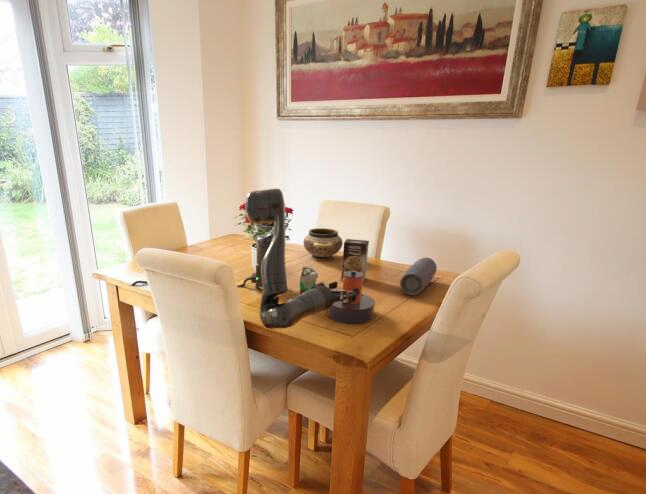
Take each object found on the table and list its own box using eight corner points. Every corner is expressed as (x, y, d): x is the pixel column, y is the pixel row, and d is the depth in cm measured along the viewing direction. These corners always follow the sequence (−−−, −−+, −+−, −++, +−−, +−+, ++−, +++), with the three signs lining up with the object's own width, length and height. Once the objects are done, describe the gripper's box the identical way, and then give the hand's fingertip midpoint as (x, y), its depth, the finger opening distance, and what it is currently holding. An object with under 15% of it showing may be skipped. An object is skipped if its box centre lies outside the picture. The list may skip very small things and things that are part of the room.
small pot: (341, 304, 152) (343, 274, 148) (340, 296, 158) (342, 267, 154) (362, 304, 151) (364, 274, 147) (360, 297, 157) (362, 268, 153)
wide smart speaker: (328, 322, 150) (328, 308, 148) (326, 304, 164) (327, 291, 162) (376, 324, 148) (377, 310, 146) (370, 306, 162) (372, 293, 160)
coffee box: (340, 280, 187) (343, 242, 181) (343, 275, 193) (346, 238, 187) (363, 283, 184) (366, 244, 178) (365, 278, 190) (369, 239, 183)
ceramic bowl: (334, 272, 206) (344, 240, 200) (296, 260, 208) (305, 229, 202) (337, 256, 228) (346, 228, 221) (302, 246, 230) (311, 218, 224)
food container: (316, 303, 166) (317, 277, 162) (299, 302, 167) (300, 276, 163) (317, 291, 177) (319, 266, 173) (301, 290, 178) (302, 266, 174)
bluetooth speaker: (423, 300, 166) (427, 274, 162) (397, 295, 171) (400, 270, 167) (436, 281, 183) (440, 257, 180) (412, 278, 188) (415, 254, 184)
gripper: (334, 295, 134) (366, 281, 144) (297, 283, 144) (330, 271, 154) (333, 318, 137) (364, 303, 147) (297, 305, 147) (329, 292, 157)
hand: (347, 287), depth 150 cm, fingers open, 8 cm apart
